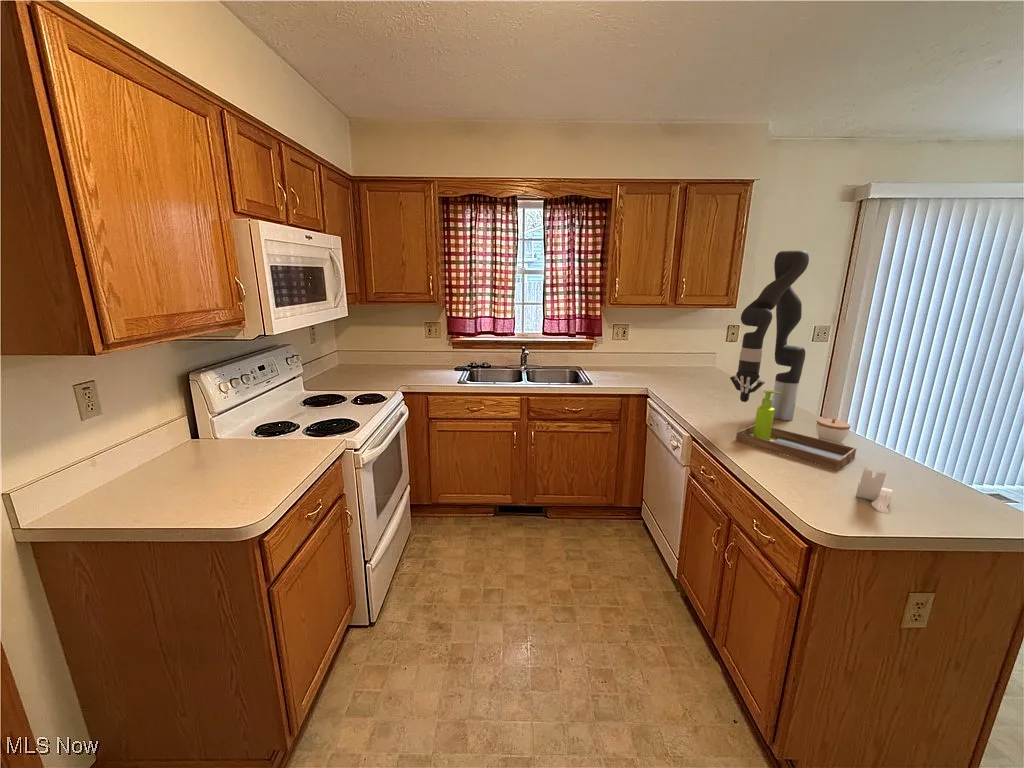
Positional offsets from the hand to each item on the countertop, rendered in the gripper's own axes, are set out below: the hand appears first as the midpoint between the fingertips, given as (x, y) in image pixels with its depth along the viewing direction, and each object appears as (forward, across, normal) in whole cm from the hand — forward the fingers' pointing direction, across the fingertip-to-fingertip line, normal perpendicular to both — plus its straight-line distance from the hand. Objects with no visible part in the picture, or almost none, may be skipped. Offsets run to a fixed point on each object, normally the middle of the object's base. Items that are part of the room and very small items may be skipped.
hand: (743, 401), depth 177 cm
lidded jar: (+14, -26, -20) cm, 36 cm away
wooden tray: (+14, -20, +1) cm, 24 cm away
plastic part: (+14, -50, +28) cm, 59 cm away
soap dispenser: (+14, -9, 0) cm, 17 cm away
